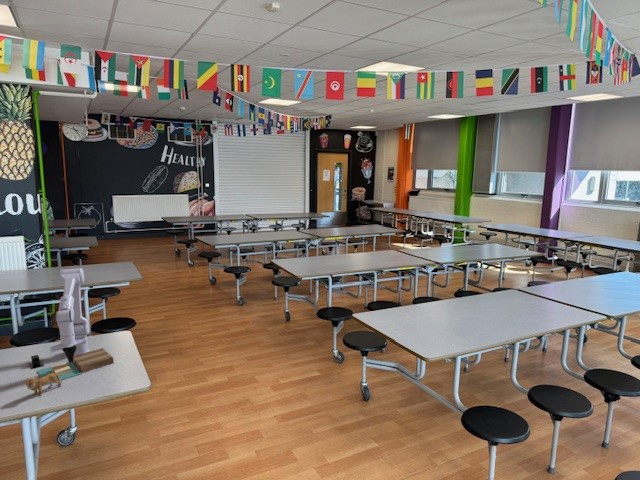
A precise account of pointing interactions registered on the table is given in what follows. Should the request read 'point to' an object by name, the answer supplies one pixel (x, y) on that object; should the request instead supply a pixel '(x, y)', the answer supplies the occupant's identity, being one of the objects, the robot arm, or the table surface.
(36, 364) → the black slotted bracket
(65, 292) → the robot arm
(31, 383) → the lion figurine
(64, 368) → the beech tile
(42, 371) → the teal mat
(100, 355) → the walnut board
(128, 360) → the table surface
